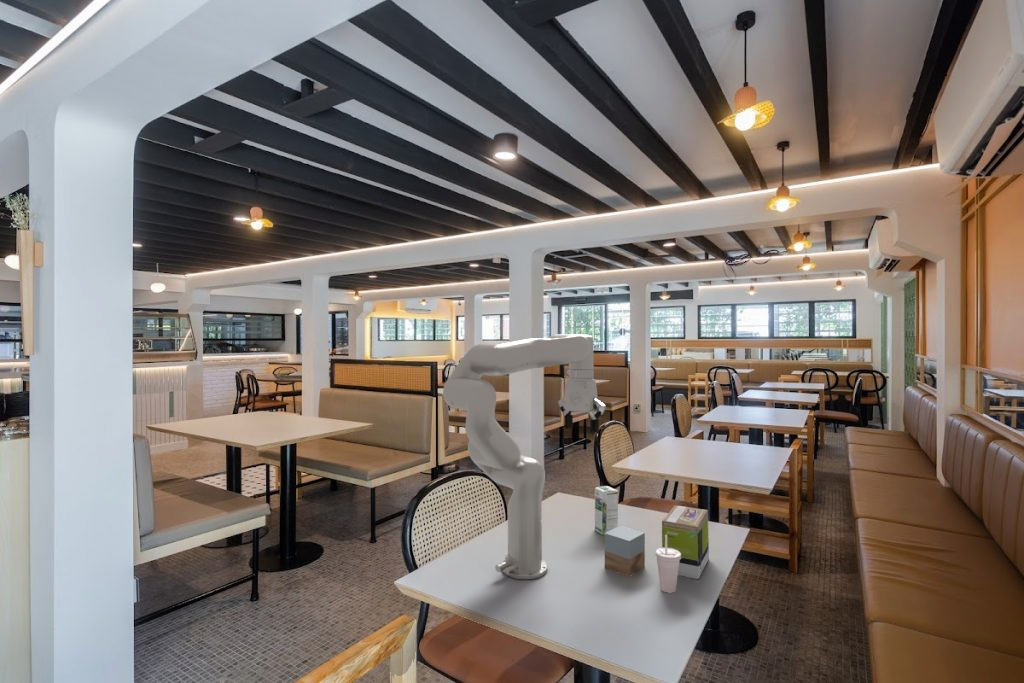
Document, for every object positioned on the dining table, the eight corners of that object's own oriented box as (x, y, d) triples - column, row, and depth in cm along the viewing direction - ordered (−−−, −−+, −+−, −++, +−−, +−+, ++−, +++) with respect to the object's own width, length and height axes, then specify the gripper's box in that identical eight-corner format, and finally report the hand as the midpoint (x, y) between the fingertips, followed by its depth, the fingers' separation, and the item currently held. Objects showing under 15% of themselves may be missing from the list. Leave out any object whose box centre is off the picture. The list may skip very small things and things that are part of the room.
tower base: (629, 577, 141) (629, 559, 141) (604, 568, 147) (604, 550, 147) (644, 568, 147) (644, 550, 147) (620, 559, 153) (620, 542, 153)
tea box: (674, 552, 157) (674, 503, 157) (709, 559, 152) (709, 509, 152) (661, 572, 144) (661, 519, 144) (699, 580, 139) (699, 525, 139)
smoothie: (661, 581, 139) (661, 529, 139) (685, 588, 135) (685, 534, 134) (651, 590, 134) (651, 536, 134) (675, 598, 130) (675, 542, 130)
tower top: (629, 559, 141) (629, 541, 141) (604, 550, 147) (604, 533, 147) (644, 550, 147) (644, 532, 147) (620, 542, 153) (620, 525, 152)
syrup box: (593, 530, 175) (593, 487, 174) (608, 527, 177) (608, 485, 177) (603, 536, 169) (603, 492, 169) (618, 533, 172) (618, 489, 172)
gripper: (551, 374, 164) (551, 428, 164) (597, 377, 152) (597, 435, 152) (566, 372, 169) (566, 425, 169) (611, 375, 157) (611, 432, 157)
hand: (581, 430), depth 161 cm, fingers open, 9 cm apart
